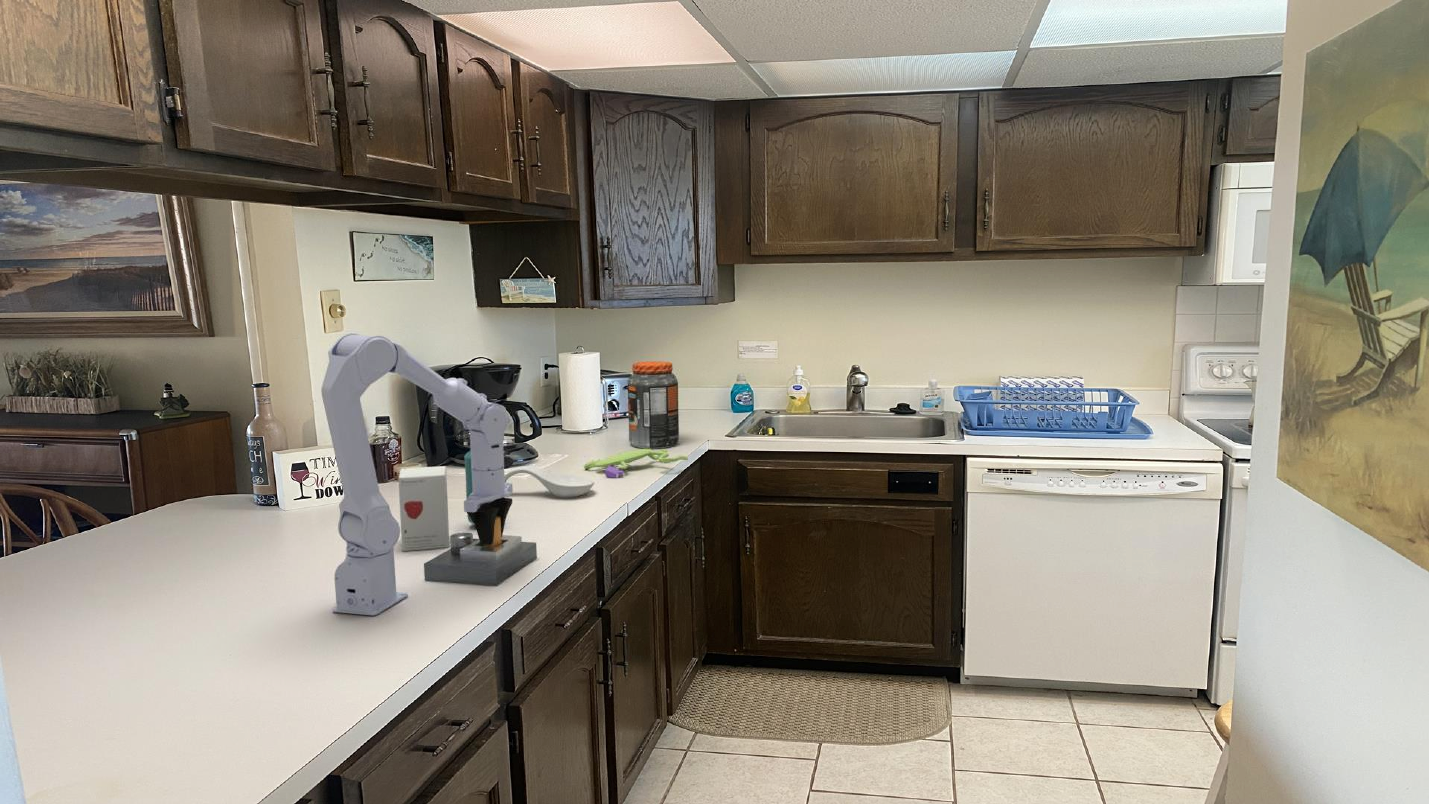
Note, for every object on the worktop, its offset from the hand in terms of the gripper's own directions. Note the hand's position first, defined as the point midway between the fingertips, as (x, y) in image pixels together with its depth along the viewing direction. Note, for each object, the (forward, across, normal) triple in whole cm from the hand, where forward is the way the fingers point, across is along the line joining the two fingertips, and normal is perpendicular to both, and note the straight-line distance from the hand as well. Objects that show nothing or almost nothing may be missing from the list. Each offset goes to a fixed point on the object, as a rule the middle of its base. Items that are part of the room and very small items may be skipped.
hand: (491, 541), depth 166 cm
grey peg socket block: (+5, 0, +2) cm, 6 cm away
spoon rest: (+6, +55, +15) cm, 57 cm away
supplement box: (+6, +12, +21) cm, 25 cm away
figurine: (+6, +87, +2) cm, 87 cm away
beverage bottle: (+6, +26, +16) cm, 31 cm away
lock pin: (+3, 0, 0) cm, 3 cm away
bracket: (+2, 0, 0) cm, 2 cm away
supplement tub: (+6, +123, +9) cm, 123 cm away
